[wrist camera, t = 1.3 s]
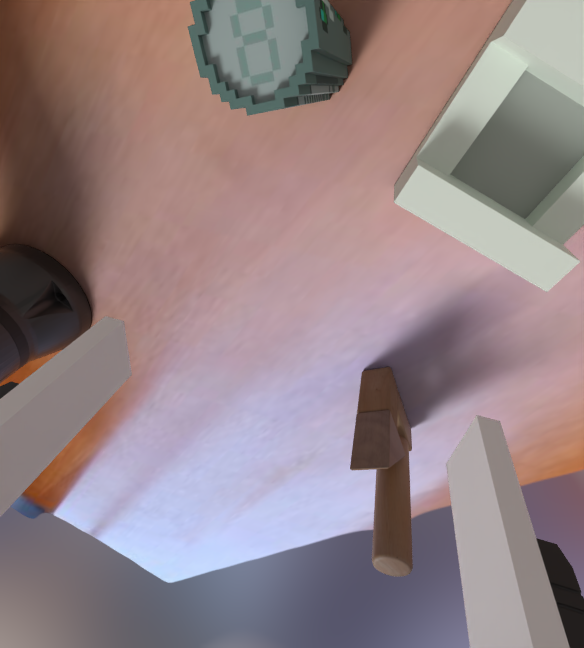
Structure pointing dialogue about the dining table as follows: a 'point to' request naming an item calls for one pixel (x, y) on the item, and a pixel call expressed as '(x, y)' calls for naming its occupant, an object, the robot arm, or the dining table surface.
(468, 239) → the socket block
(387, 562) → the wooden block
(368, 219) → the dining table surface
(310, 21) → the can
